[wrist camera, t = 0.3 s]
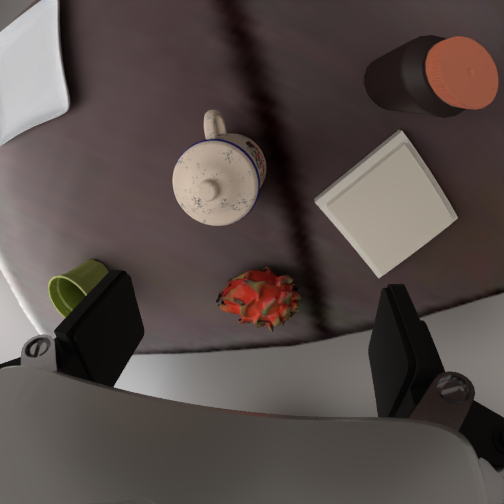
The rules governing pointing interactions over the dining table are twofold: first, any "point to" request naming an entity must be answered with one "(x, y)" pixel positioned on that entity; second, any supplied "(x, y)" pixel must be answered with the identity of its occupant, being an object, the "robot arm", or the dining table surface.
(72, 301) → the plant pot
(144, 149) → the dining table surface
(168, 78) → the dining table surface
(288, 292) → the dragon fruit
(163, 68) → the dining table surface
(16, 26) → the salad plate
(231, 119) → the dining table surface
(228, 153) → the teacup with lid
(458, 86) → the dark brown water bottle
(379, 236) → the stand
